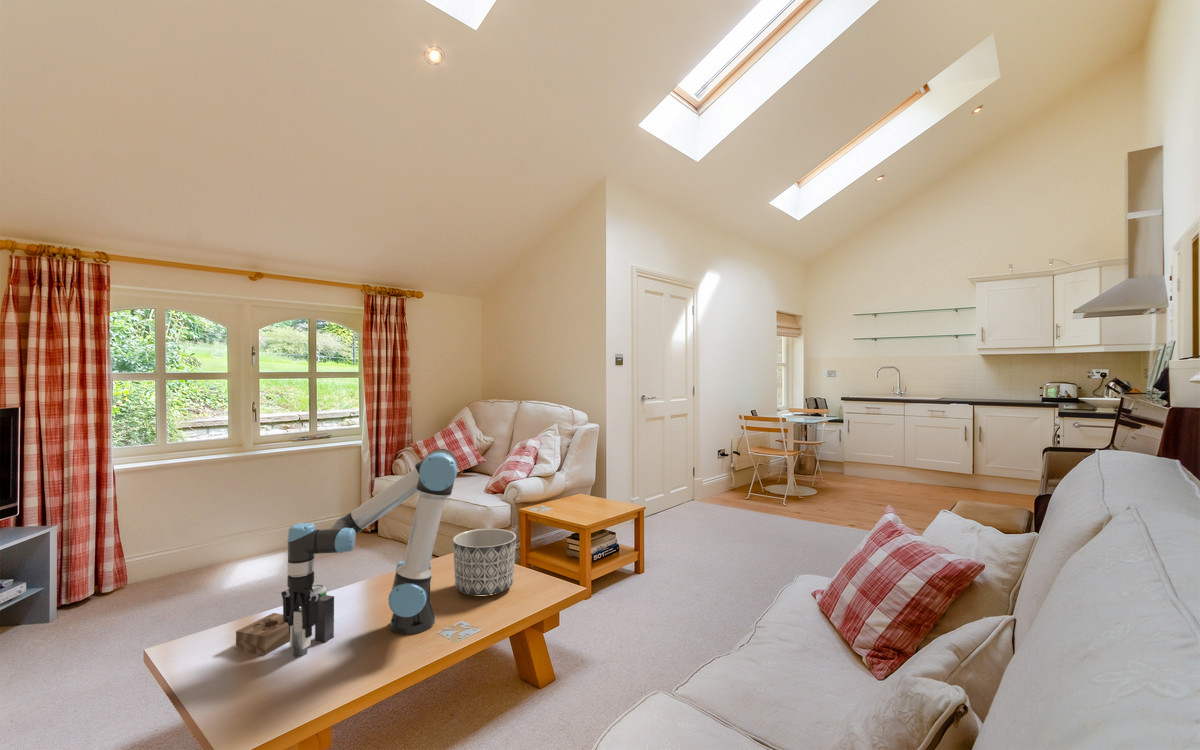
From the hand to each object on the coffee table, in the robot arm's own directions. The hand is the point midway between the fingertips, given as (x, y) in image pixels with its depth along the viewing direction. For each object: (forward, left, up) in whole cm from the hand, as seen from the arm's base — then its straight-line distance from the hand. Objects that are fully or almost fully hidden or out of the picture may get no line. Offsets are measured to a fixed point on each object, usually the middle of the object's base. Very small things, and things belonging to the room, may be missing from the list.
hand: (300, 645), depth 170 cm
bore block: (+16, -3, -3) cm, 16 cm away
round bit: (0, 0, -3) cm, 3 cm away
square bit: (0, -10, -3) cm, 10 cm away
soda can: (+14, -20, -3) cm, 25 cm away
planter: (-31, -64, -3) cm, 71 cm away
